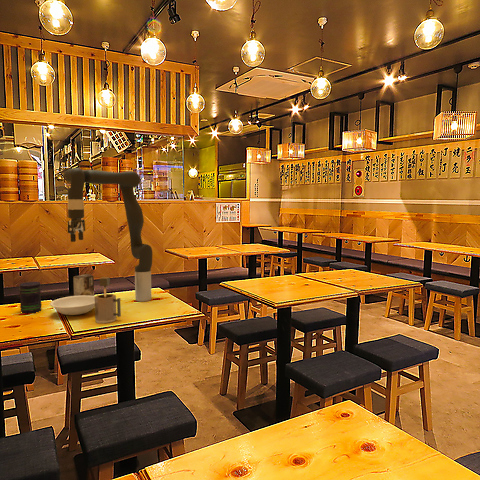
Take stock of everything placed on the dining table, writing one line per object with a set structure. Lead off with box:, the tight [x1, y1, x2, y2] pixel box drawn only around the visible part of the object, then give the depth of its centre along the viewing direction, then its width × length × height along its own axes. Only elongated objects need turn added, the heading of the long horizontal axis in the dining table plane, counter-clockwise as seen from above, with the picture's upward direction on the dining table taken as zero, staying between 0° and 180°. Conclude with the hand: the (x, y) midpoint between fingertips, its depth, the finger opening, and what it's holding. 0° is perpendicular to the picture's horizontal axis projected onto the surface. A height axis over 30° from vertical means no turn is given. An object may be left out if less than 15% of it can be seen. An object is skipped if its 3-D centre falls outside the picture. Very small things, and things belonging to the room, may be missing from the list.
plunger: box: [99, 276, 111, 298], centre depth 188 cm, size 6×6×18 cm
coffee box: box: [72, 273, 95, 296], centre depth 219 cm, size 9×6×16 cm
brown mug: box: [94, 293, 122, 324], centre depth 189 cm, size 10×12×12 cm
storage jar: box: [19, 281, 42, 314], centre depth 203 cm, size 10×10×15 cm
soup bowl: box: [49, 295, 97, 316], centre depth 201 cm, size 24×24×7 cm
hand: (77, 240), depth 195 cm, fingers open, 8 cm apart
